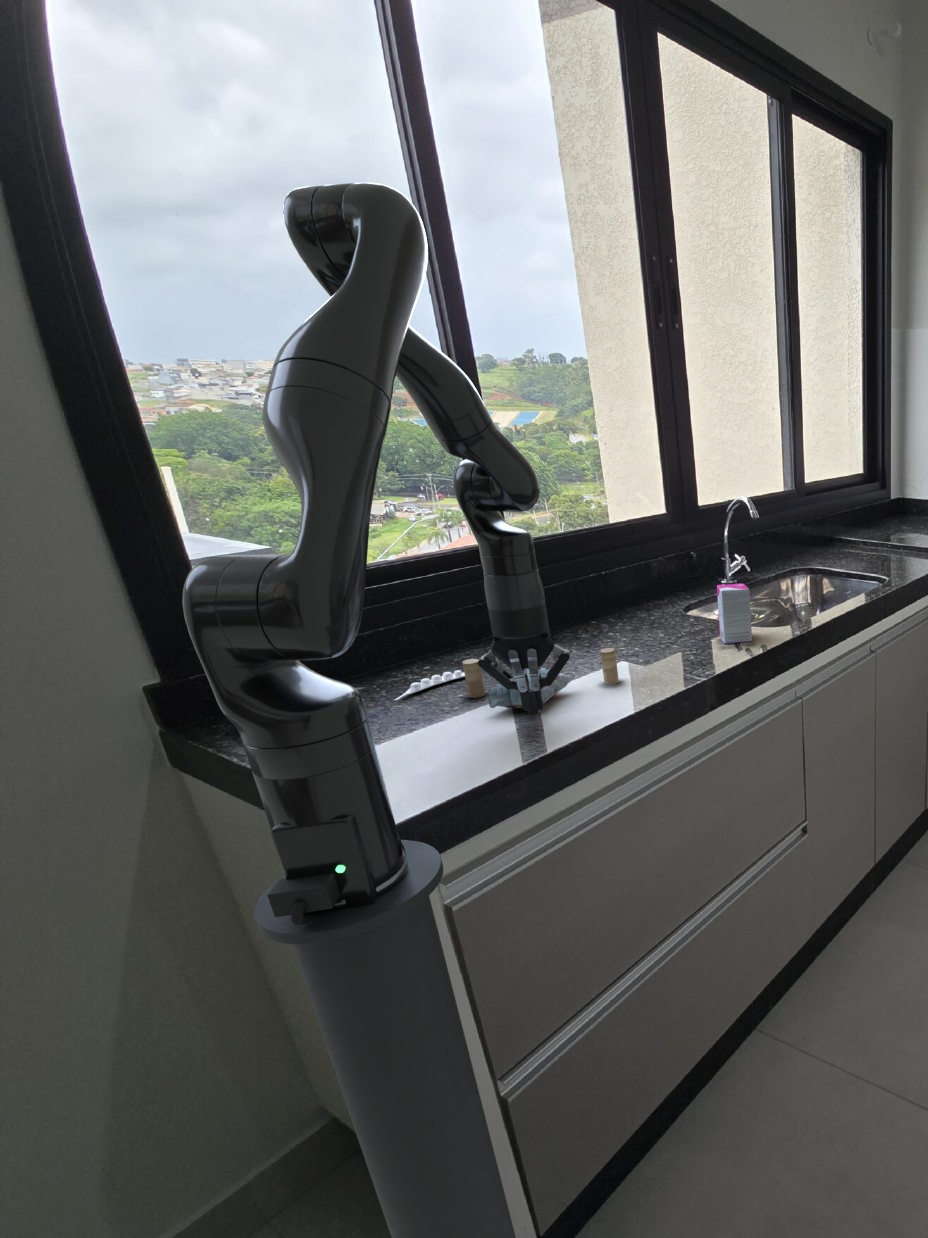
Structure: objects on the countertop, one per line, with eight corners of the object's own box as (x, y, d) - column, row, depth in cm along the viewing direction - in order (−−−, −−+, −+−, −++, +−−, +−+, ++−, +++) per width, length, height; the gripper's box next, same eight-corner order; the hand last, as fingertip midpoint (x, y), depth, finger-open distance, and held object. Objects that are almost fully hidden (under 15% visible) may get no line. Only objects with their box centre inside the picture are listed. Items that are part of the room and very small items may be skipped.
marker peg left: (484, 697, 122) (477, 662, 120) (467, 698, 121) (460, 664, 119) (486, 691, 124) (480, 658, 122) (470, 693, 123) (463, 659, 121)
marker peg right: (618, 684, 128) (614, 651, 126) (604, 685, 128) (599, 652, 125) (619, 679, 130) (615, 647, 128) (604, 680, 130) (600, 648, 128)
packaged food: (577, 689, 125) (572, 662, 124) (541, 717, 114) (536, 688, 113) (527, 689, 126) (521, 661, 124) (487, 717, 115) (480, 687, 113)
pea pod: (469, 670, 133) (467, 662, 133) (484, 675, 131) (482, 666, 131) (381, 697, 121) (378, 688, 121) (396, 703, 119) (394, 694, 118)
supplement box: (753, 643, 151) (749, 588, 147) (724, 646, 148) (719, 591, 144) (747, 635, 156) (744, 582, 152) (719, 638, 153) (714, 584, 149)
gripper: (459, 611, 102) (481, 726, 107) (563, 604, 106) (579, 716, 111) (470, 598, 108) (491, 708, 114) (568, 593, 112) (583, 699, 118)
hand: (534, 712), depth 113 cm, fingers closed
